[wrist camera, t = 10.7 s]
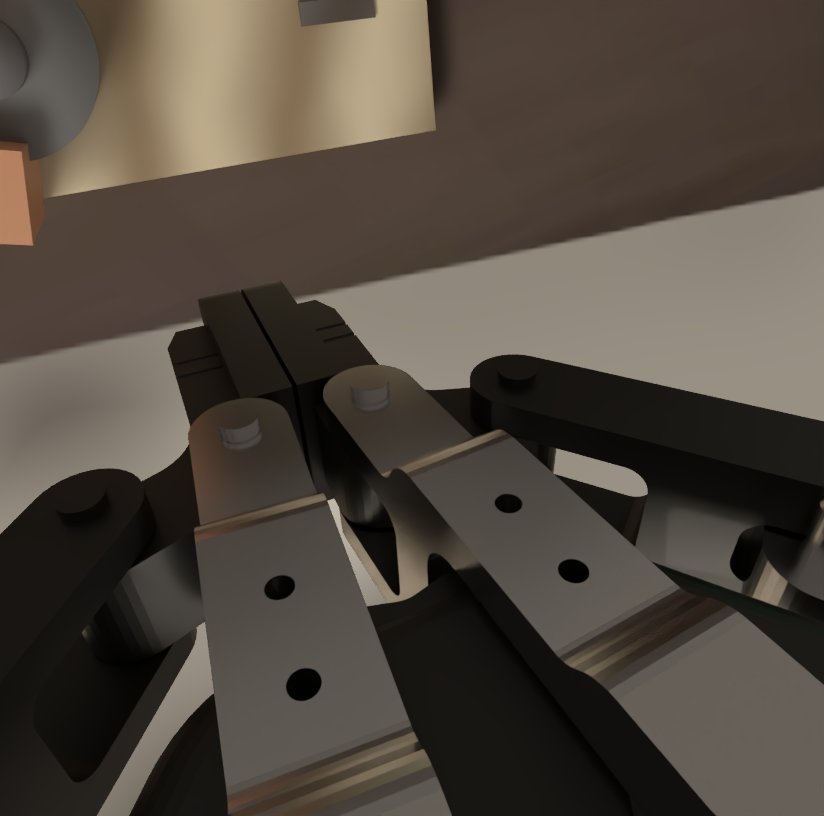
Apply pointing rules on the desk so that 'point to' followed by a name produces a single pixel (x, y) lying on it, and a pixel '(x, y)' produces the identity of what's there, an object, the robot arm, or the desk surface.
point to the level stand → (243, 85)
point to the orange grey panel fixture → (40, 101)
